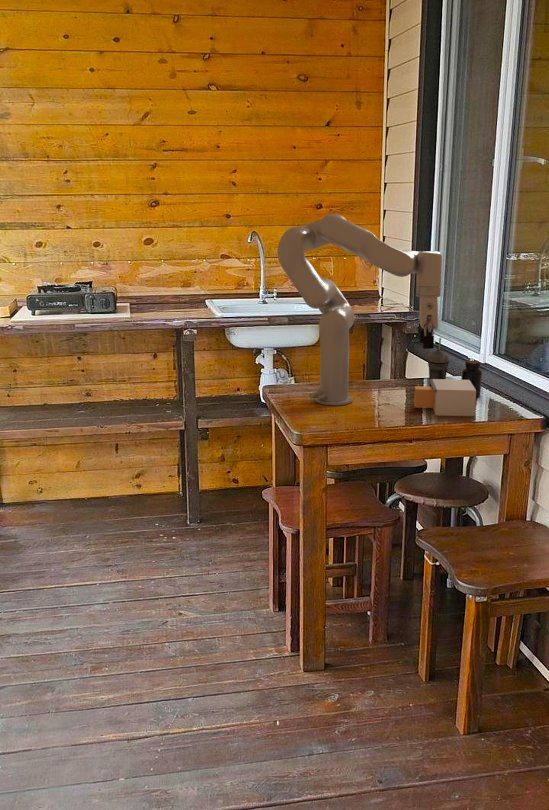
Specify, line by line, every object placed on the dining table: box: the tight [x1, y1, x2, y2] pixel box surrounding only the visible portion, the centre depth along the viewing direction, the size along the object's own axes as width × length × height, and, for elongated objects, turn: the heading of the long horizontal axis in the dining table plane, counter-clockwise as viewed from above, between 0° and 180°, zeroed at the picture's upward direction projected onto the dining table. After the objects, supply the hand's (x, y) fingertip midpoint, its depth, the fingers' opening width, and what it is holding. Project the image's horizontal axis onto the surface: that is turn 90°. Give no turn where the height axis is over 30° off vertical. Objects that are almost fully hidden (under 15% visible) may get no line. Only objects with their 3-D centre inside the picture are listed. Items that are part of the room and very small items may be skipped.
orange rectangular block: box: [413, 385, 435, 409], centre depth 242 cm, size 4×12×6 cm, turn 84°
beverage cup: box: [427, 337, 450, 387], centre depth 259 cm, size 7×7×20 cm
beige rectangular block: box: [430, 378, 477, 417], centre depth 241 cm, size 14×13×8 cm
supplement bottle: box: [460, 360, 483, 399], centre depth 257 cm, size 7×7×12 cm
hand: (426, 345), depth 239 cm, fingers open, 9 cm apart
